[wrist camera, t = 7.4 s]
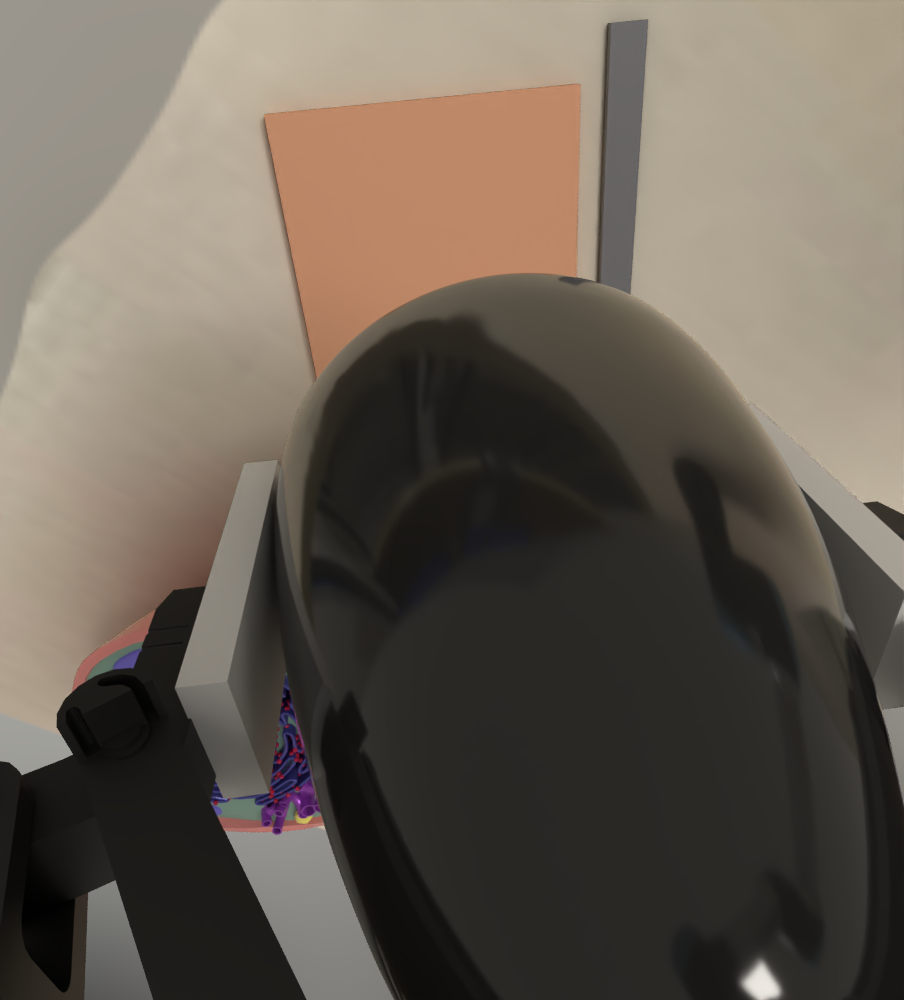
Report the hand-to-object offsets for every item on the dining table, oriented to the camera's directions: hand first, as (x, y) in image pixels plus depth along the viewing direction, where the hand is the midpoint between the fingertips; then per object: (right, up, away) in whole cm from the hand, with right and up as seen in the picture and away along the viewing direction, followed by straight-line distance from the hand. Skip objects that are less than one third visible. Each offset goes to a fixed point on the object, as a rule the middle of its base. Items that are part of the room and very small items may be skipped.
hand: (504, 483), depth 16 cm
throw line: (+7, +12, +16) cm, 21 cm away
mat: (-2, +10, +16) cm, 19 cm away
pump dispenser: (0, +2, +2) cm, 3 cm away
